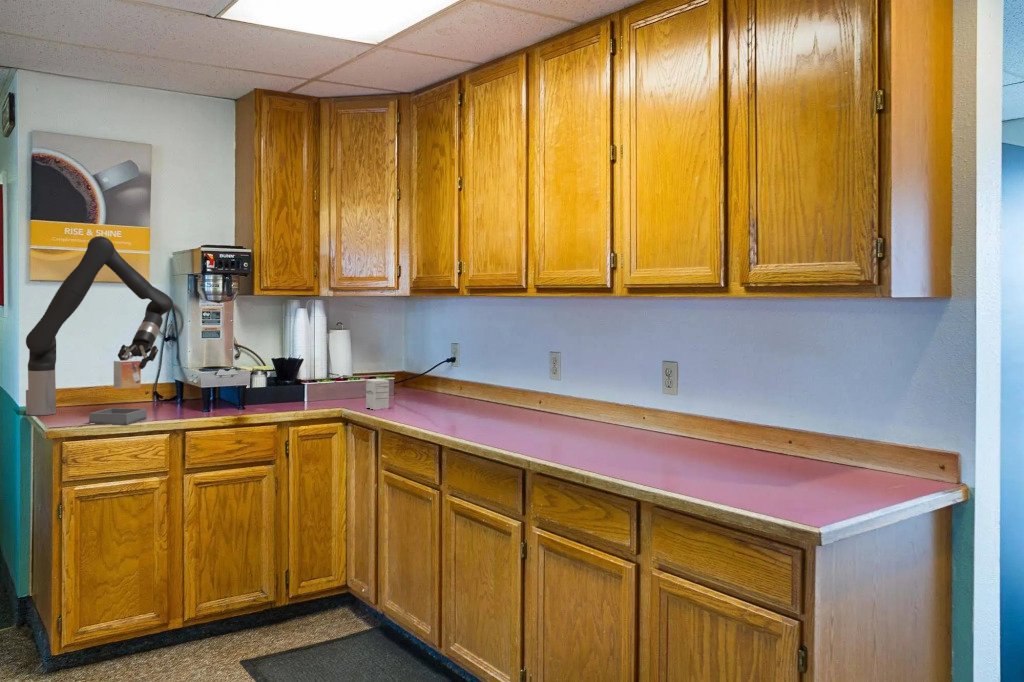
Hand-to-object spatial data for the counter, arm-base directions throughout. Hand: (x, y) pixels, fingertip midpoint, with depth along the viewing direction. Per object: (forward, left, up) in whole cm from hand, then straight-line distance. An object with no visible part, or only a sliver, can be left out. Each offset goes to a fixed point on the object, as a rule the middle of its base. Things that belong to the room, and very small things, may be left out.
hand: (131, 367), depth 309 cm
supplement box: (+88, +36, -19) cm, 97 cm away
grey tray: (+2, -12, -19) cm, 23 cm away
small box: (-1, -1, -8) cm, 8 cm away
